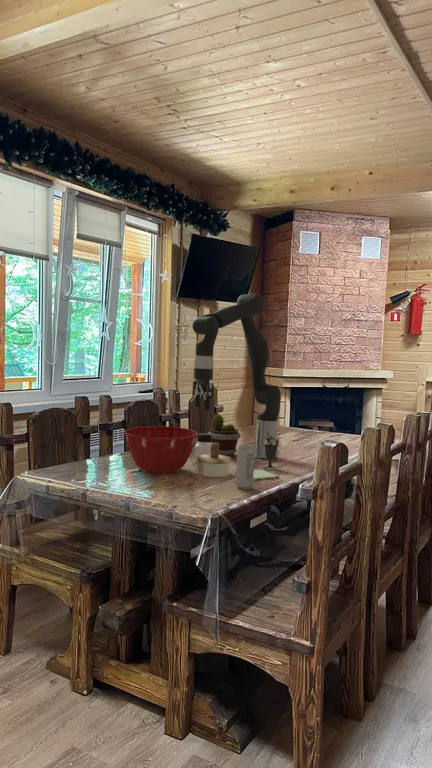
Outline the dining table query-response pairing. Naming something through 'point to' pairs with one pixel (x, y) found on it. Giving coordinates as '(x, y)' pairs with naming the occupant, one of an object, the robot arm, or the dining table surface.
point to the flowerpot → (224, 436)
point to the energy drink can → (245, 466)
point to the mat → (262, 475)
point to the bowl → (213, 469)
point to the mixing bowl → (160, 447)
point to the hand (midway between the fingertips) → (201, 408)
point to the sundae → (270, 450)
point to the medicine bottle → (203, 445)
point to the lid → (214, 456)
